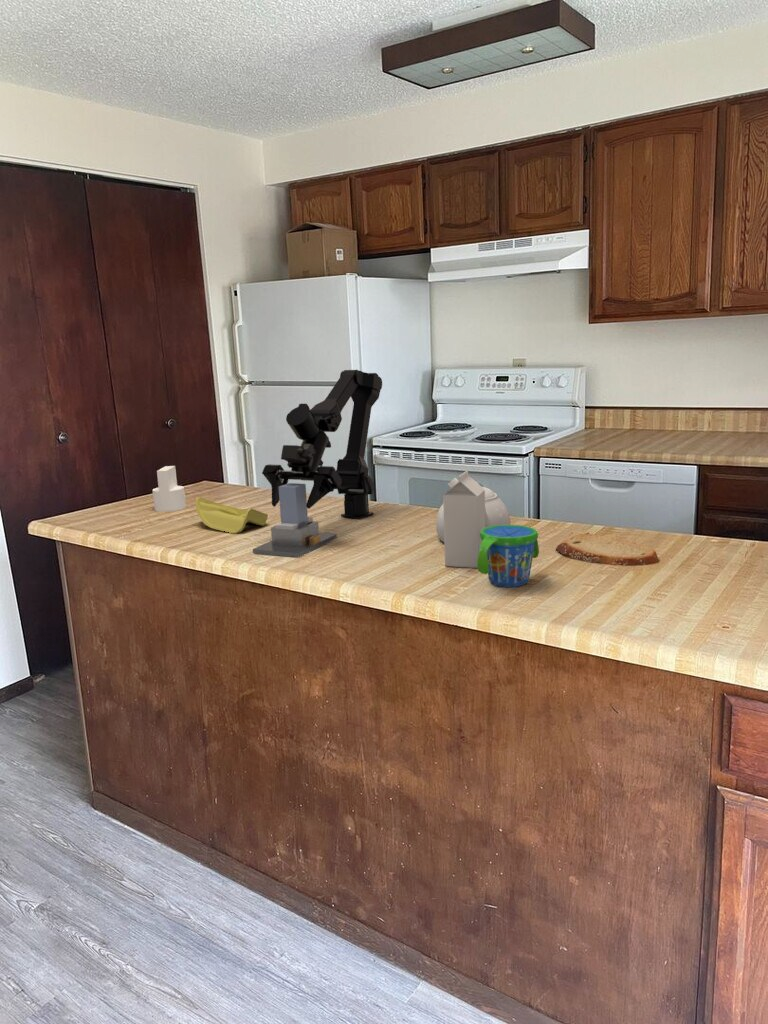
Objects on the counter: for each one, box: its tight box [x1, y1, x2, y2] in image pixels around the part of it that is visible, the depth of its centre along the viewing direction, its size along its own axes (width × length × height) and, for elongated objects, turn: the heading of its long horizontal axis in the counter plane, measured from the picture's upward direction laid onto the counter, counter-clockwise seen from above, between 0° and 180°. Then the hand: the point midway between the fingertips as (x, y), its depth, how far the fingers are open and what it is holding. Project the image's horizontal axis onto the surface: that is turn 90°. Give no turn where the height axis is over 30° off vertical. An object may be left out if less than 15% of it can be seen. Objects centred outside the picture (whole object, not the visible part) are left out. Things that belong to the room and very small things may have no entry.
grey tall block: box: [275, 482, 314, 530], centre depth 180 cm, size 9×4×13 cm, turn 155°
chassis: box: [252, 520, 338, 558], centre depth 181 cm, size 18×12×5 cm, turn 155°
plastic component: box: [195, 496, 269, 534], centre depth 204 cm, size 20×7×10 cm
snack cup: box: [476, 524, 540, 588], centre depth 147 cm, size 16×10×10 cm
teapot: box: [435, 481, 511, 543], centre depth 179 cm, size 19×18×14 cm
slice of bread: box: [555, 532, 660, 567], centre depth 163 cm, size 18×18×4 cm
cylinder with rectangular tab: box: [152, 465, 187, 513], centre depth 229 cm, size 9×9×12 cm
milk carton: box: [442, 469, 485, 569], centre depth 160 cm, size 7×7×19 cm
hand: (290, 506), depth 178 cm, fingers open, 9 cm apart
